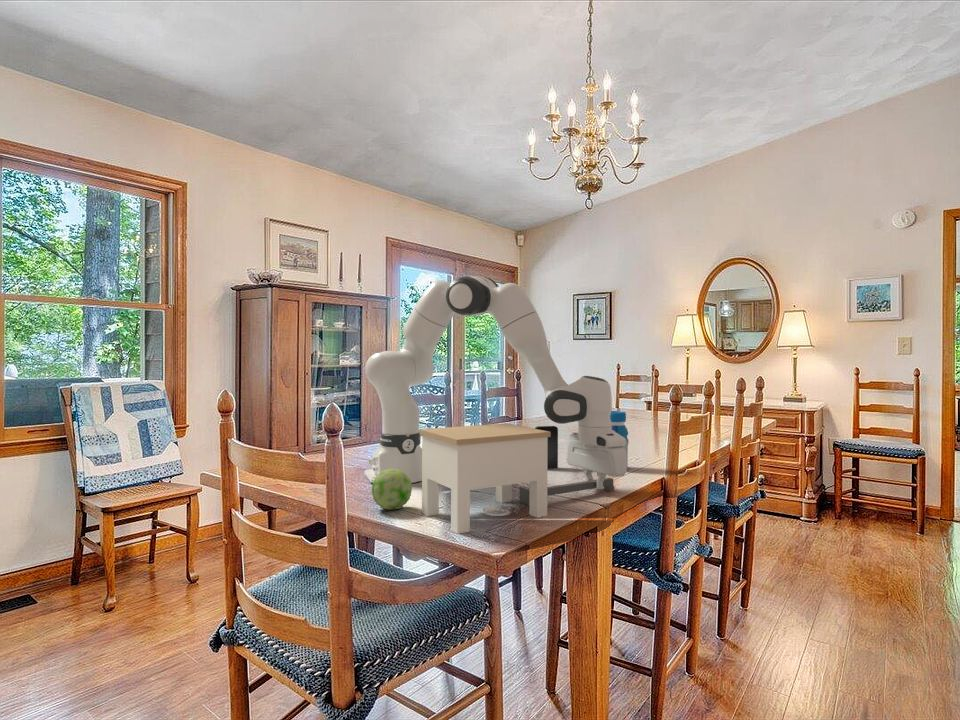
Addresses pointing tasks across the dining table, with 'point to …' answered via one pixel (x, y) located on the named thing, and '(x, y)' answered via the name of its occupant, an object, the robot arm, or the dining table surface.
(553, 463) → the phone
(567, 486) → the hoe scraper
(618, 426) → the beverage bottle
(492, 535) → the dining table surface
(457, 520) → the white tan small table
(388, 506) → the decorative ball
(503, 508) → the steel token
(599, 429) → the robot arm
